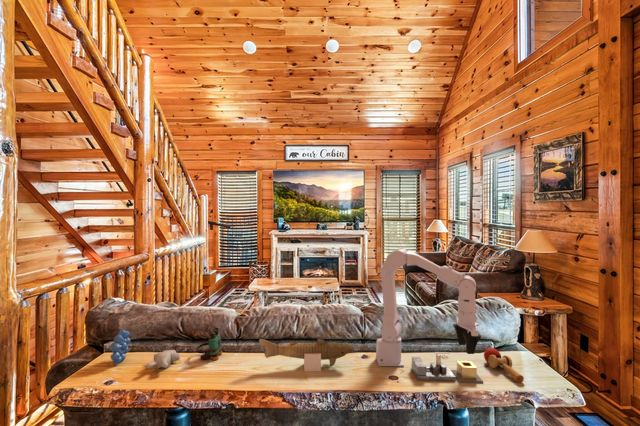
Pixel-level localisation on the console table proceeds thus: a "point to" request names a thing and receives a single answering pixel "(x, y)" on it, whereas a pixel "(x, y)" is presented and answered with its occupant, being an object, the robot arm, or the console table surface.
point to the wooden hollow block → (466, 370)
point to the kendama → (502, 363)
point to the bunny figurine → (164, 359)
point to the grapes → (120, 346)
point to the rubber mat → (466, 379)
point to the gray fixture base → (432, 370)
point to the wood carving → (308, 352)
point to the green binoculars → (212, 346)
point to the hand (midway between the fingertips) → (466, 349)
